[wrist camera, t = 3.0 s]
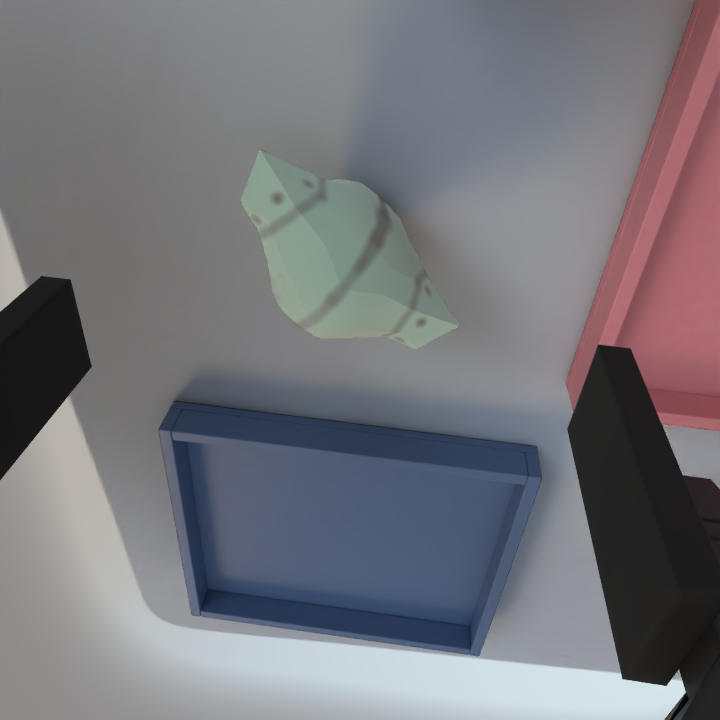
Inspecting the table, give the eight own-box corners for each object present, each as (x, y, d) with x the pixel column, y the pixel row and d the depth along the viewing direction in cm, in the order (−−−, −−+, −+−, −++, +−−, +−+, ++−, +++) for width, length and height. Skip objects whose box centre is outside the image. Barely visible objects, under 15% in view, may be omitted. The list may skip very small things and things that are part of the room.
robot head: (471, 247, 23) (478, 351, 17) (394, 312, 25) (380, 424, 19) (306, 89, 20) (255, 155, 15) (236, 177, 22) (169, 262, 17)
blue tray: (201, 586, 38) (191, 615, 37) (173, 400, 29) (157, 429, 28) (477, 624, 37) (479, 656, 36) (536, 446, 28) (542, 478, 27)
